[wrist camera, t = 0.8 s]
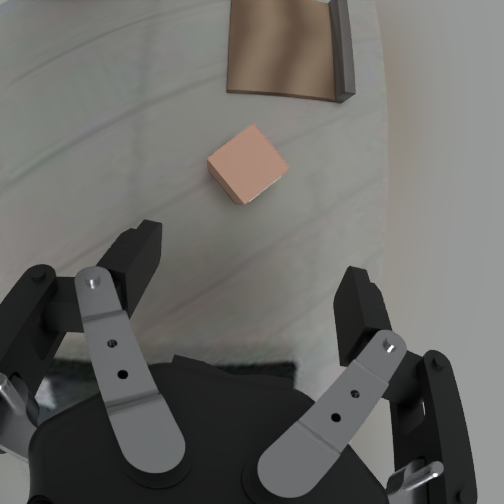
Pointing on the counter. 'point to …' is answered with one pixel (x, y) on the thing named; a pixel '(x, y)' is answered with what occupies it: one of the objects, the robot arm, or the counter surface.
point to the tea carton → (246, 165)
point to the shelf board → (291, 49)
